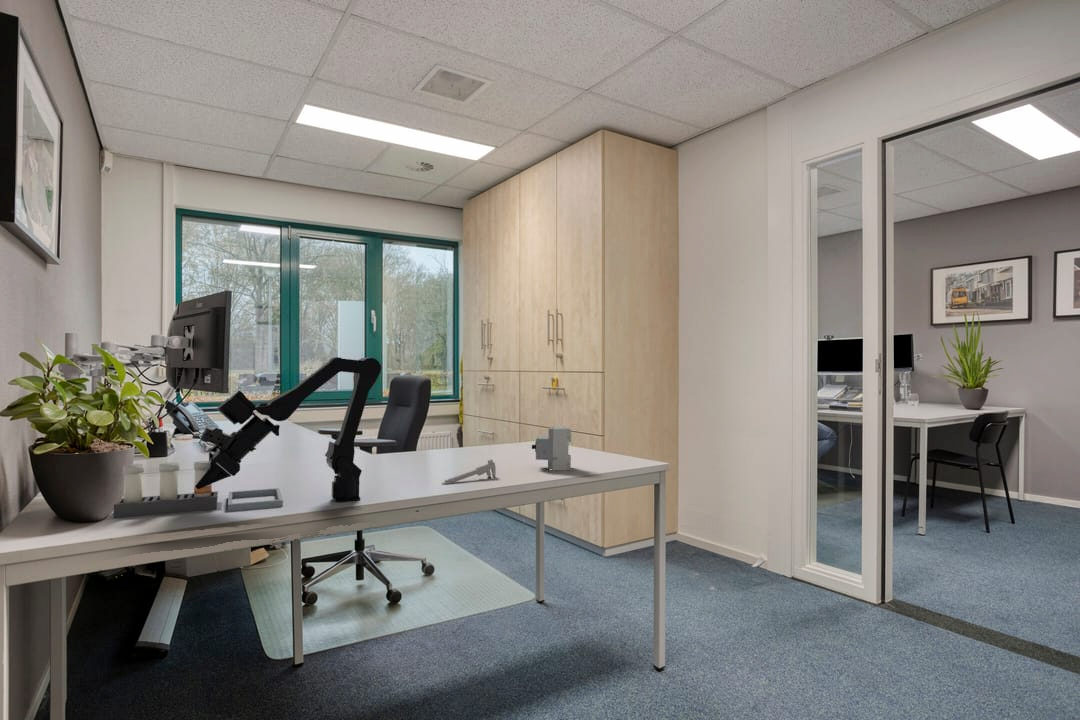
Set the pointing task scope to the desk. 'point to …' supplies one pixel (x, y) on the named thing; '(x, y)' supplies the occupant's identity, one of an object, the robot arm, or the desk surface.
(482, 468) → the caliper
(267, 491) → the parts tray
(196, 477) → the marked fuse
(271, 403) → the robot arm
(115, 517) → the grey slotted rack
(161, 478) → the block
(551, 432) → the circuit breaker
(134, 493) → the fuse
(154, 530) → the desk surface
